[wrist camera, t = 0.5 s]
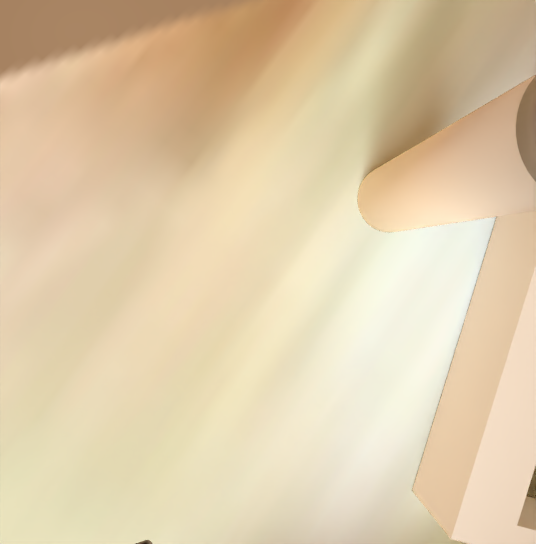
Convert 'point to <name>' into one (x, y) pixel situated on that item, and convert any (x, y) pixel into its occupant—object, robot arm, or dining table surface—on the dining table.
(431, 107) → the dining table surface
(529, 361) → the socket board
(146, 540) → the robot arm
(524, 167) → the plug
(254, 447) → the dining table surface
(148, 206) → the dining table surface
